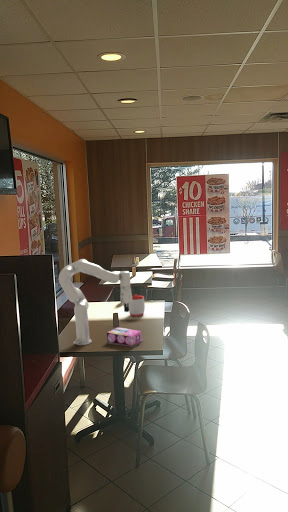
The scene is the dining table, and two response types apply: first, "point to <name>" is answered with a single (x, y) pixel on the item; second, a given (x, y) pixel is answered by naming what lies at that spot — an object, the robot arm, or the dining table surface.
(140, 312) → the white red bucket
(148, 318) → the dining table surface
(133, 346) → the mat
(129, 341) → the gum box
